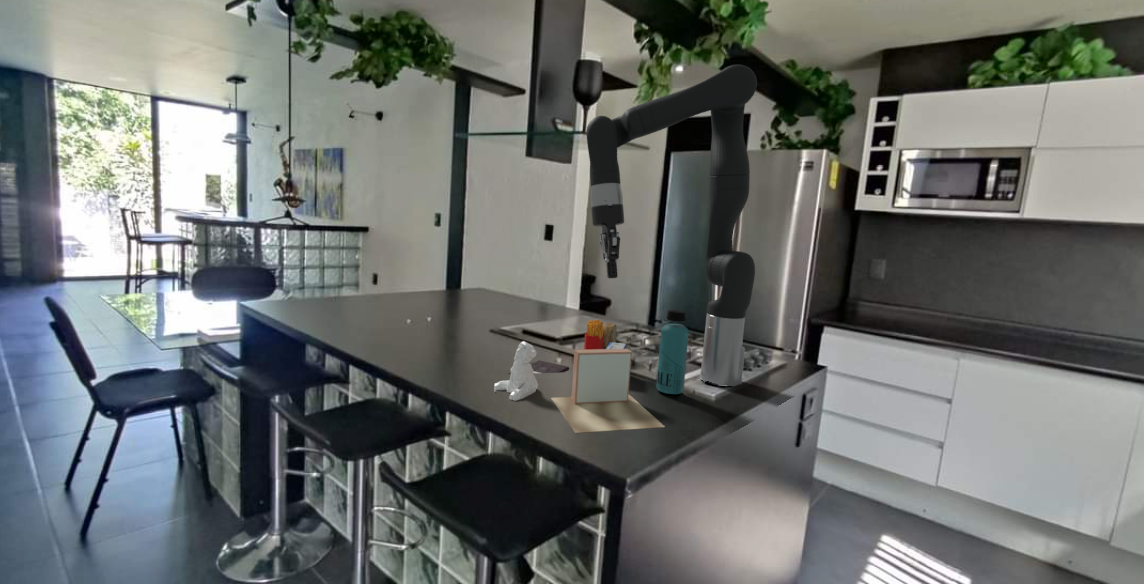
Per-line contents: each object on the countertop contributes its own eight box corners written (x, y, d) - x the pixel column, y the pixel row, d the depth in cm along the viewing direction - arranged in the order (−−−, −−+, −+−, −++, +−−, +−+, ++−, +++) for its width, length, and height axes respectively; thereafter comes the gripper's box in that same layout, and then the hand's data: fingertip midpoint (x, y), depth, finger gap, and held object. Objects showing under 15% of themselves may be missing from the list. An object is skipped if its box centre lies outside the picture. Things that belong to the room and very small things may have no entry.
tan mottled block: (604, 352, 155) (606, 319, 153) (616, 354, 154) (619, 321, 152) (594, 361, 145) (597, 326, 144) (607, 363, 144) (610, 327, 143)
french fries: (594, 370, 138) (597, 325, 136) (580, 367, 139) (583, 322, 137) (604, 362, 145) (607, 319, 144) (590, 359, 147) (593, 317, 145)
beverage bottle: (685, 393, 123) (693, 309, 120) (681, 402, 117) (689, 314, 114) (657, 389, 126) (664, 306, 122) (652, 397, 119) (659, 310, 116)
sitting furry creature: (490, 391, 117) (493, 338, 116) (524, 385, 123) (526, 334, 121) (512, 405, 110) (514, 349, 108) (546, 398, 115) (549, 344, 113)
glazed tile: (623, 397, 116) (627, 348, 114) (628, 401, 114) (632, 352, 112) (571, 399, 113) (574, 349, 111) (574, 404, 110) (578, 353, 108)
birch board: (628, 397, 118) (628, 394, 118) (664, 430, 101) (665, 426, 101) (550, 401, 113) (550, 397, 113) (575, 436, 96) (575, 432, 96)
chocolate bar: (568, 366, 137) (532, 385, 122) (568, 370, 137) (531, 388, 122) (539, 360, 141) (499, 377, 126) (539, 363, 142) (499, 381, 126)
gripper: (587, 209, 131) (592, 279, 132) (595, 202, 118) (601, 279, 119) (617, 207, 132) (622, 276, 133) (628, 200, 119) (634, 277, 120)
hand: (612, 278), depth 126 cm, fingers closed
